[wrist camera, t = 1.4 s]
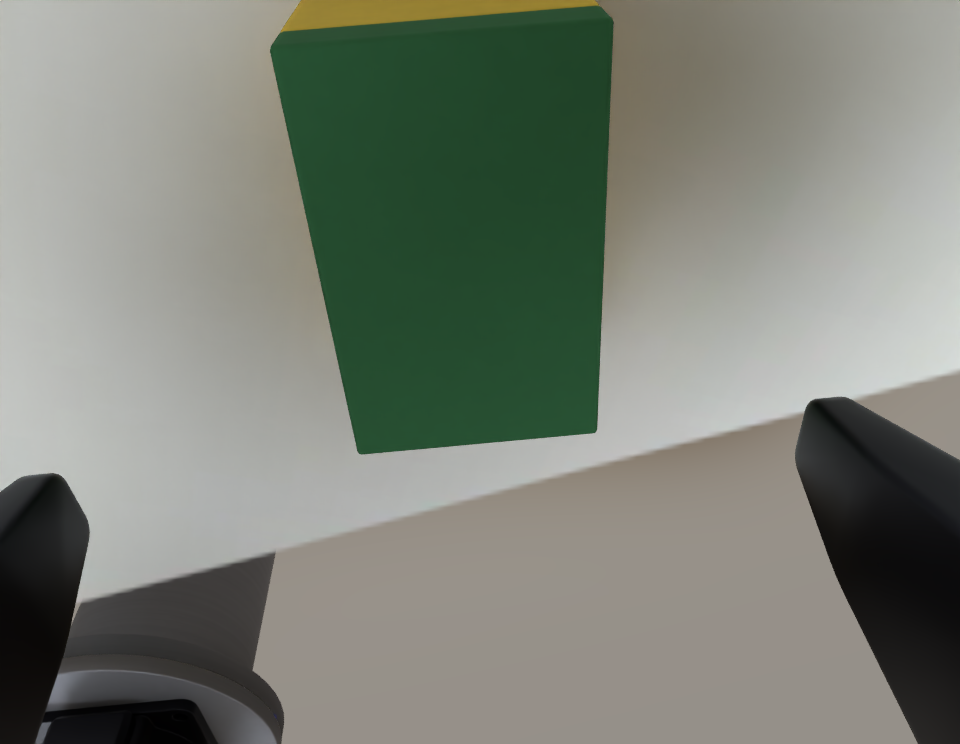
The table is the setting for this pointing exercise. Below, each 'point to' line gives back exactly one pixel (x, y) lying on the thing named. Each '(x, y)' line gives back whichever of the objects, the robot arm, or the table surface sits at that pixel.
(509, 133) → the sponge
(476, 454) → the table surface
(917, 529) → the robot arm
